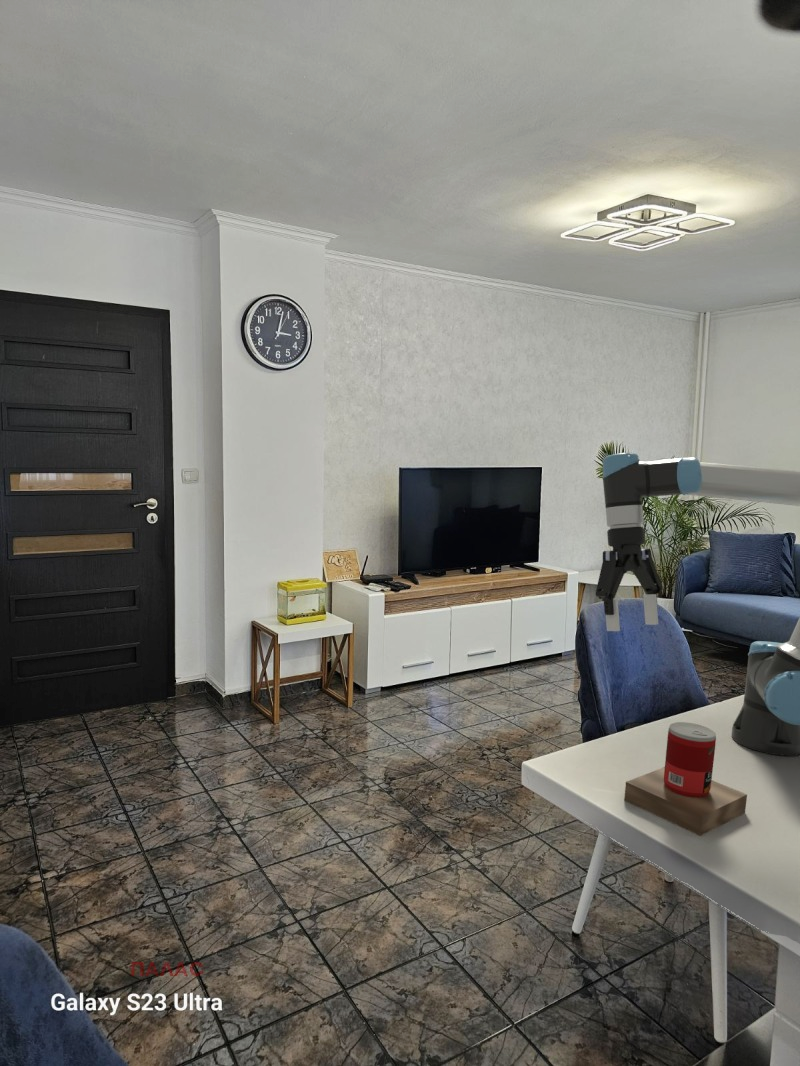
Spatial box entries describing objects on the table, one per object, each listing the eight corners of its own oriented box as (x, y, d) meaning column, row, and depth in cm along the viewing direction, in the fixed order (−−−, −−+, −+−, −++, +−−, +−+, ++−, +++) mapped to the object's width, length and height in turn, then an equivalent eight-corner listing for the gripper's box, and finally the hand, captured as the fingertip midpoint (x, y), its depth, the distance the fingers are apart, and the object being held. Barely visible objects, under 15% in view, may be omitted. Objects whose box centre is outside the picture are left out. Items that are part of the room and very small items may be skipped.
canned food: (714, 801, 131) (720, 740, 130) (666, 794, 133) (672, 734, 131) (705, 782, 139) (711, 725, 137) (660, 776, 140) (666, 719, 139)
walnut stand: (670, 781, 147) (671, 764, 146) (745, 812, 135) (747, 794, 135) (624, 800, 137) (625, 781, 137) (700, 836, 126) (702, 816, 125)
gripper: (644, 527, 169) (651, 621, 168) (573, 529, 154) (580, 633, 153) (674, 524, 164) (682, 622, 162) (603, 526, 148) (611, 634, 147)
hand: (633, 627), depth 158 cm, fingers open, 13 cm apart
